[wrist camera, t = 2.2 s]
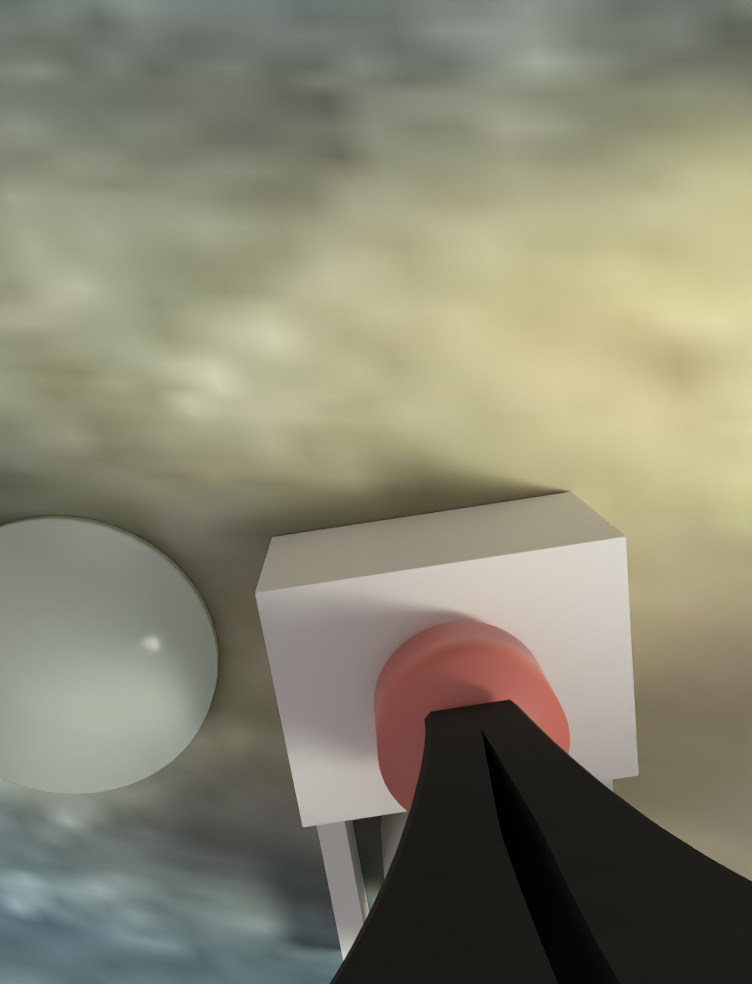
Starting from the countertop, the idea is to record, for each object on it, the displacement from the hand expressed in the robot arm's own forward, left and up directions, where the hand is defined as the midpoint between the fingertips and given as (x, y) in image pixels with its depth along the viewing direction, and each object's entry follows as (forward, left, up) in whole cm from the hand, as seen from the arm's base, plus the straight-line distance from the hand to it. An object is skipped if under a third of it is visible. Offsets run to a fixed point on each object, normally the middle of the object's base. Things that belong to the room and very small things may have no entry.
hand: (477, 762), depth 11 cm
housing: (-3, 0, -5) cm, 6 cm away
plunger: (0, 0, -4) cm, 4 cm away
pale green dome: (0, +8, -5) cm, 10 cm away
